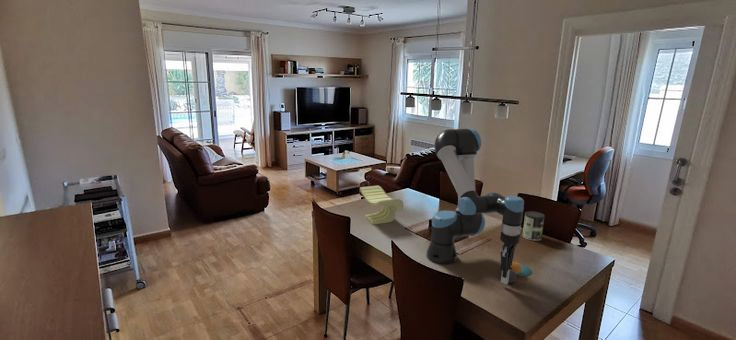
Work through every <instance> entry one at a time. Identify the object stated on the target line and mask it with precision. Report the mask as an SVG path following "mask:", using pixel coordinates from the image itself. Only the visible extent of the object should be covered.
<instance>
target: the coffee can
mask: <svg viewBox="0 0 736 340" xmlns="http://www.w3.org/2000/svg"><path fill="white" fill-rule="evenodd" d="M545 217H546V216H545V214H544V213H542V212H539V211H533V210H529V211H525V212H524V221H523V228H522V237H523V238H524V239H526V240H529V241H534V242H536V241H537V242H539V241H542V237H543V230H544V223H545V222H544V221H545Z"/></svg>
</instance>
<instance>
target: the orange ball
mask: <svg viewBox="0 0 736 340" xmlns="http://www.w3.org/2000/svg"><path fill="white" fill-rule="evenodd" d="M520 264H521V263H520V262H517V261H513V262H512V266H511V268H512V271H514V272H515V273H516V274H519V273H520V272H521V270H522V267H521V265H520ZM509 270H511V269H509Z"/></svg>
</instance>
